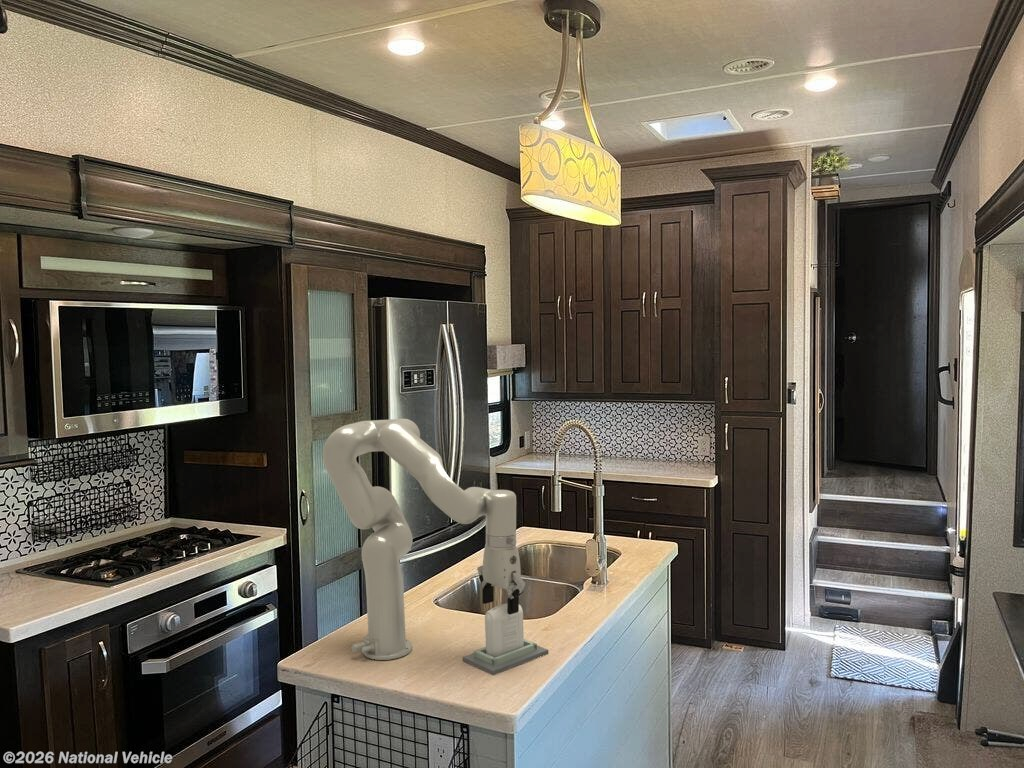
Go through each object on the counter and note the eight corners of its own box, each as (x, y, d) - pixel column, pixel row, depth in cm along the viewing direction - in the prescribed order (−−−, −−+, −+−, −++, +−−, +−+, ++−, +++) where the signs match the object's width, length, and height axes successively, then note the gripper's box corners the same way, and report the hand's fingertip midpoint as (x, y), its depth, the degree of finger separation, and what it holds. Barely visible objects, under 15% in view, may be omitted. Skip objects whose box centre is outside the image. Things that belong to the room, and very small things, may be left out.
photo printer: (517, 645, 201) (515, 598, 200) (526, 650, 197) (525, 602, 197) (483, 655, 195) (481, 607, 194) (492, 661, 192) (491, 611, 191)
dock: (493, 675, 186) (492, 664, 186) (462, 660, 195) (462, 650, 195) (548, 653, 198) (548, 643, 197) (517, 641, 207) (516, 631, 207)
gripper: (535, 545, 191) (534, 613, 192) (490, 531, 204) (490, 595, 205) (512, 550, 186) (511, 620, 187) (467, 535, 199) (467, 601, 200)
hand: (500, 607), depth 196 cm, fingers open, 9 cm apart
